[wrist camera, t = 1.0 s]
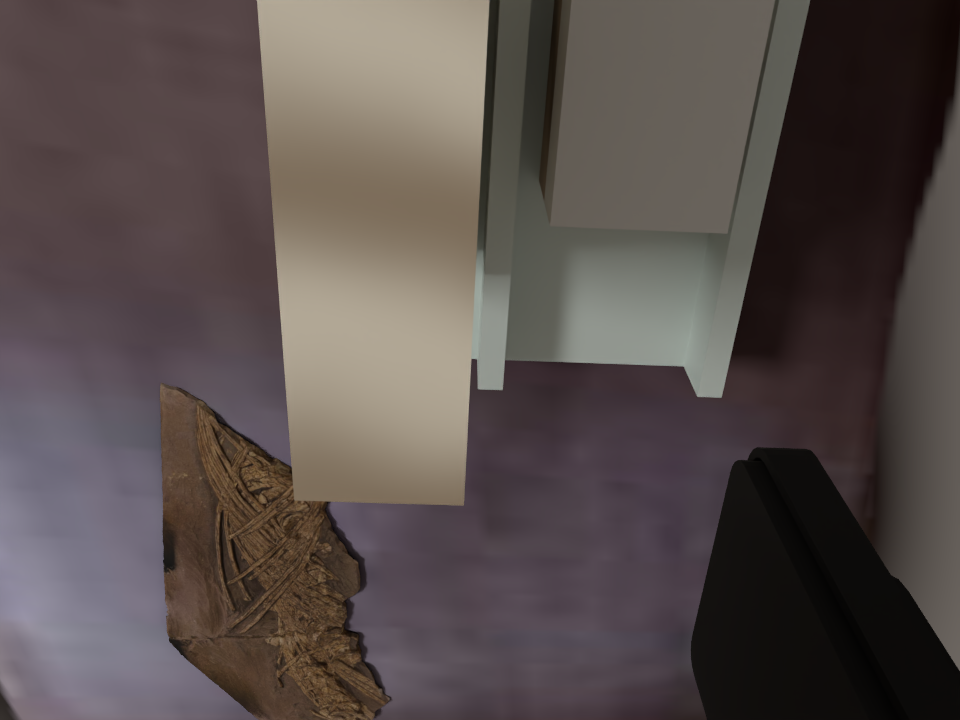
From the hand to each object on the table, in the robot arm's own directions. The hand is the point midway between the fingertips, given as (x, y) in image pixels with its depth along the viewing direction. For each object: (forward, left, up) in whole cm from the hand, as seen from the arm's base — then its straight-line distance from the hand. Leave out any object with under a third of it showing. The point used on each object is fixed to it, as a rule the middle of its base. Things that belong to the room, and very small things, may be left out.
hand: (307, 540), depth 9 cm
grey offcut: (-1, +8, -22) cm, 24 cm away
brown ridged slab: (+27, -8, -26) cm, 38 cm away
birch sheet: (-1, 0, -25) cm, 25 cm away
